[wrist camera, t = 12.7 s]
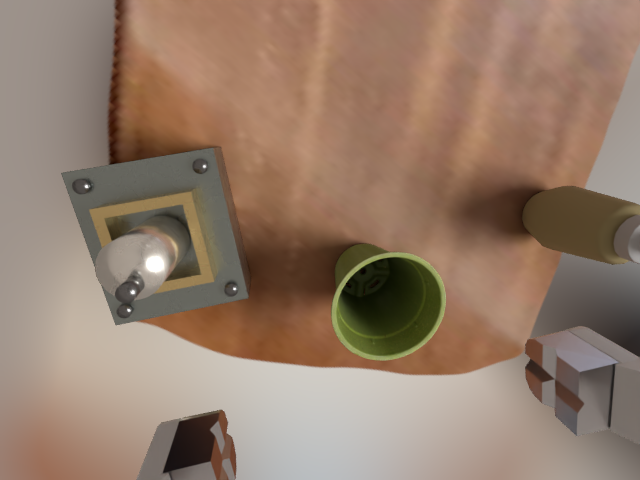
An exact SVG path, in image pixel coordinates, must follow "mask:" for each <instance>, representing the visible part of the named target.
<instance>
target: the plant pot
mask: <svg viewBox="0 0 640 480" xmlns="http://www.w3.org/2000/svg"><path fill="white" fill-rule="evenodd" d="M379 259H382V261H379ZM361 269H365V270H366V272H365V273H364V274H361V273H360V271H361ZM376 280H379V283H378V284H377V285H376V286H375V287H373V288H370V285H372V284H373V283H374V282H375V281H376ZM347 282H348V283H349V284H350V285H351V288H350V287H349V286H347V285H346V283H347ZM335 284H336V292H335V294H334V297H333V301H332V307H331V318H332V325H333V328H334V331H335V333H336V335H337V337H338V339H339V340H340V341H341V343H342V344H343V345H344V346H345V347H346V348H347V349H348V350H350V351H351V352H353V353H354V354H357V355H359V356H361V357H364V358H367V359H371V360H391V359H397V358H400V357H403V356H406V355H408V354H410V353H412V352H414V351H415V350H417V349H419V348H420V347H422V346H423V345H424V344H425V343H426V342H427V341H428V340H429V339H430V338H431V337H432V336H433V335H434V333H435V332H436V330H437V329H438V327H439V325H440V323H441V321H442V318H443V315H444V311H445V304H446V294H445V289H444V285H443V282H442V280H441V278H440V276H439V274H438V273H437V271H436V270H435V269H434V268H433V267H432V266H431V265H430V264H429V263H428V262H426V261H425V260H423V259H422V258H420V257H418V256H415V255H413V254H409V253H403V252H389V251H386V250H384V249H382V248H379V247H377V246H374V245H371V244H357V245H354V246H352V247H350V248H349V249H347V250H346V251H344V252H343V253H342V255H341V256H340V257H339V259H338V261H337V263H336V266H335ZM364 289H365V294H364Z"/></svg>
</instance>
